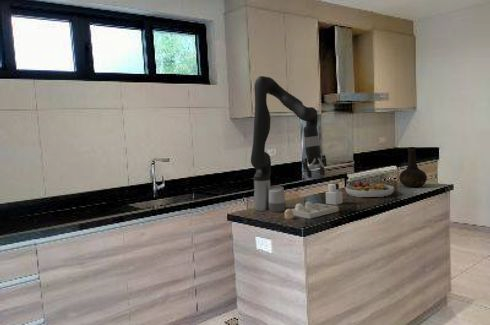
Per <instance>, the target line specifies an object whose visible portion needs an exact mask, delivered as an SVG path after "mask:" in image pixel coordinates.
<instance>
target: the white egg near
mask: <svg viewBox="0 0 490 325" xmlns="http://www.w3.org/2000/svg"><path fill="white" fill-rule="evenodd" d="M303 206H304V205H303V204H302V203H300V202H299V203H296V205H295V206H294V208H295V210H296V211H302V210H304V207H303Z"/></svg>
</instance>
